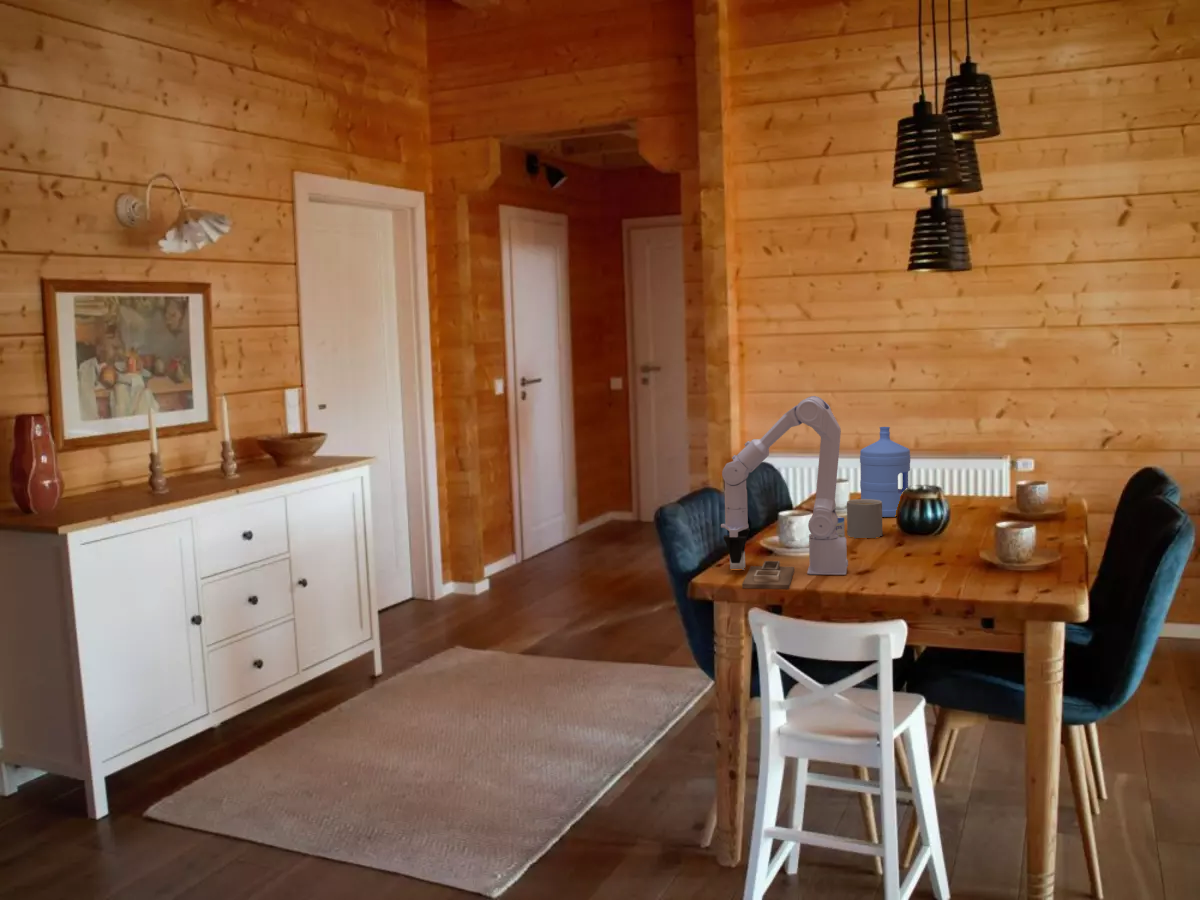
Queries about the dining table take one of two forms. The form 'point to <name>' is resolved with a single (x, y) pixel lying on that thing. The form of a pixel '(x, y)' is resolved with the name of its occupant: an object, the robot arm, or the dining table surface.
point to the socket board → (769, 576)
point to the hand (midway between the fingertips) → (737, 559)
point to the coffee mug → (864, 518)
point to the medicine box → (840, 527)
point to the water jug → (884, 472)
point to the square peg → (739, 565)
